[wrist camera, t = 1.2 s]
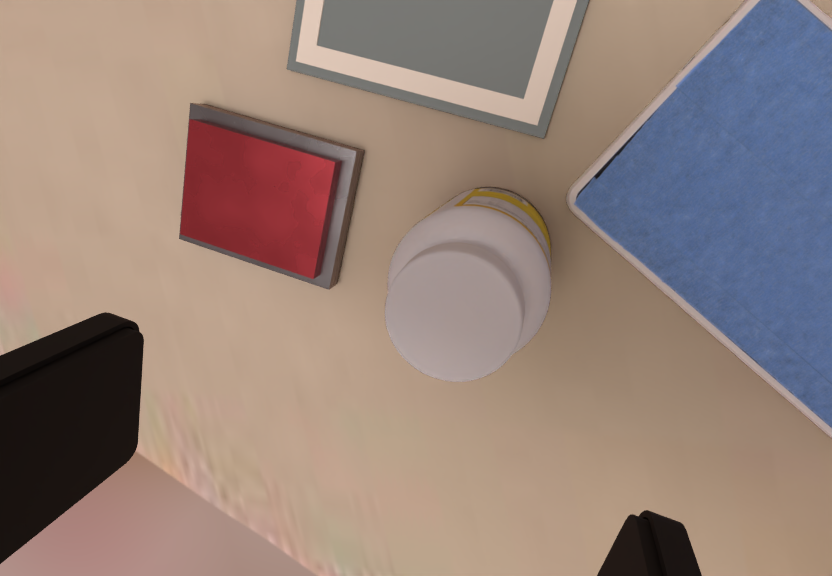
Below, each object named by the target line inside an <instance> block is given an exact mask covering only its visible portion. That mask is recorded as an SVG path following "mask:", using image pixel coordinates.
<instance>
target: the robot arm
mask: <svg viewBox="0 0 832 576" xmlns="http://www.w3.org/2000/svg"><path fill="white" fill-rule="evenodd" d="M143 344H144V339H143V335H142V334H141V333H140V332H139V327H138V325H137V324H136V323H135V322H133V321H130V320H128V319H125V318H122V317H119V316H117V315H114V314H111V313H106V312H105V313H101V314H98V315H96V316H94V317H91V318H89V319H86V320H84V321H82V322H79V323H77V324H74V325H72V326H70V327H67V328H65V329H63V330H60V331H58V332H55V333H53V334H51V335H48V336H46V337H44V338H41V339H39V340H36V341H34V342H32V343H29V344H27V345H25V346H22V347H20V348H17V349H15V350H13V351H10V352H8V353H6V354H3V355H1V356H0V564H1V563H2V562H3V561H4V560H6V559H7V558H8V557H9V556H11V555H12V554H13V553H14V552H16V551H17V550H18V549H19V548H21V547H22V546H23V545H24V544H26V543H27V542H28V541H29V540H30V539H32V538H33V537H34V536H36V535H37V534H38V533H39V532H41V531H42V530H43V529H44V528H46V527H47V526H48V525H49V524H51V523H52V522H53V521H54V520H56V519H57V518H58V517H59V516H60V515H62V514H63V513H64V512H65V511H67V510H68V509H69V508H71V507H72V506H73V505H74V504H75V503H77V502H78V501H79V500H81V499H82V498H83V497H84V496H86V495H87V494H88V493H89V492H90V491H92V490H93V489H94V488H96V487H97V486H98V485H99V484H101V483H102V482H103V481H104V480H106V479H107V478H108V477H109V476H111V475H112V474H113V473H114V472H115V471H117V470H118V469H119V468H121V467H122V466H123V465H124V464H126V463H127V461H129V460H130V458H131V457H132V456H133V454H134V452H135V450H136V448H137V444H138V430H139V413H140V396H141V379H142V361H143ZM597 576H702V575H701V572H700V569H699V566H698V563H697V560H696V557H695V554H694V552H693V549H692V546H691V543H690V540H689V537H688V534H687V531H686V529H685V527H684V525H683V524H682V523H680V522H678V521H675V520H672V519H670V518H667V517H664V516H661V515H659V514H656V513H653V512H650V511H648V510H646V511H643V512H642V513H641V514H640V515H639V517H638V516H635V515H629V516H628V518H627V519H626V521H625V523H624V525H623V526H622V528H621V530H620V532H619V534H618V536H617V538H616V540H615V542H614V544H613V546H612V548H611V550H610V552H609V554H608V555H607V557H606V559H605V561H604V563H603V565H602V567H601V569H600V571H599V573H598V575H597Z"/></svg>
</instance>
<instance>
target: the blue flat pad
mask: <svg viewBox="0 0 832 576" xmlns="http://www.w3.org/2000/svg"><path fill="white" fill-rule="evenodd" d="M566 202H567V205H568V207H569V209H570V210H571V212H572V213H573V214H574V215H575V216H576V217H578V218H579V219H580V220H581V221H582V222H583V223H584V224H586V225H587V226H588V227H589V228H590V229H591V230H592V231H593V232H595V233H596V234H597V235H598V236H599V237H600V238H601V239H603V240H604V241H605V242H606V243H607V244H608V245H610V246H611V247H612V248H613V249H614V250H615V251H616V252H618V253H619V254H620V255H621V256H622V257H623V258H625V259H626V260H627V261H628V262H629V263H630V264H632V265H633V266H634V267H635V268H636V269H637V270H638V271H640V272H641V273H642V274H643V275H644V276H645V277H646V278H648V279H649V280H650V281H651V282H652V283H653V284H654V285H655V286H657V287H658V288H659V289H660V290H661V291H662V292H664V293H665V294H666V295H667V296H668V297H669V298H670V299H672V300H673V301H674V302H675V303H676V304H677V305H679V306H680V307H681V308H682V309H683V310H684V311H685V312H686V313H688V314H689V315H690V316H691V317H692V318H693V319H695V320H696V321H697V322H698V323H699V324H700V325H701V326H703V327H704V328H705V329H706V330H707V331H708V332H709V333H711V334H712V335H713V336H714V337H715V338H716V339H717V340H718V341H720V342H721V343H722V344H723V345H724V346H725V347H727V348H728V349H729V350H730V351H731V352H732V353H734V354H735V355H736V356H737V357H738V358H739V359H740V360H741V361H743V362H744V363H745V364H746V365H747V366H748V367H750V368H751V369H752V370H753V371H754V372H755V373H757V374H758V375H759V376H760V377H761V378H762V379H763V380H765V381H766V382H767V383H768V384H769V385H770V386H772V387H773V388H774V389H775V390H776V391H777V392H779V393H780V394H781V395H782V396H783V397H784V398H786V399H787V400H788V401H789V402H790V403H791V404H792V405H794V406H795V407H796V408H797V409H798V410H799V411H801V412H802V413H803V414H804V415H805V416H806V417H807V418H809V419H810V420H811V421H812V422H813V423H814V424H815V425H817V426H818V427H819V428H820V429H821V430H822V431H824V432H825V433H826V434H827V435H828V436H829V437H831V438H832V18H831V17H830V16H828V15H827V14H826V13H824V12H823V11H821V10H820V9H819V8H818V7H817V6H816V5H815V4H814V3H813V2H811V1H810V0H745V1H744V2H743V3H742V4H741V5H740V6H739V7H738V8H737V10H736V11H735V12H734V13H733V14H732V15H731V16H730V18H729V20H728V21H727V22H726V23H725V24H724V25H723V26H722V27H720V28H719V29H718V30H717V31H716V32H715V33H714V34H713V35H712V36H711V37H710V38H709V40H708V41H707V42H706V43H705V44H704V45H703V46H702V47H701V48H700V49H699V50H698V51H697V52H696V53H695V54H694V55H693V57H692V58H691V59H690V60H689V61H688V62H687V63H686V64H685V66H684V67H683V68H682V69H681V70H680V71H679V72H678V73H677V74H676V75H675V76H674V77H673V78H672V79H671V80H670V81H669V82H668V83H667V85H666V86H665V87H664V88H663V89H662V90H661V91H660V92H659V93H658V94H657V95H656V96H655V97H654V98H653V99H652V101H651V102H650V103H649V104H648V105H647V106H646V107H645V108H644V109H643V110H642V111H641V112H640V113H639V114H638V115H637V117H636V118H635V119H634V120H633V121H632V122H631V123H630V124H629V125H628V126H627V127H626V128H625V129H624V130H623V131H622V133H621V134H620V135H619V136H618V137H617V138H616V139H615V140H614V141H613V142H612V143H611V144H610V145H609V146H608V147H607V148H606V150H605V151H604V152H603V153H602V154H601V155H600V156H599V157H598V158H597V159H596V160H595V161H594V162H593V163H592V164H591V165H590V166H589V167H588V168H587V169H586V171H585V172H584V173H583V174H582V175H581V176H580V177H579V178H578V179H577V180H576V181H575V182H574V183H573V184H572V185H571V187H570V188H569V190H568V193H567V195H566Z"/></svg>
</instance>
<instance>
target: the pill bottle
mask: <svg viewBox="0 0 832 576" xmlns="http://www.w3.org/2000/svg"><path fill="white" fill-rule="evenodd" d="M550 298H551V247H550V238H549V233H548V230H547V227H546V224H545V222H544V220H543V218H542V217H541V215H540V214H539V212H538V211H537V210H536V208H535V207H534V206H533V205H532V204H531V203H530V202H528V201H527V200H526V199H524V198H523V197H521V196H520V195H518V194H516V193H514V192H511V191H509V190H505V189H501V188H496V187H481V188H475V189H471V190H468V191H466V192H463V193H461V194H459V195H457V196H455V197H454V198H452V199H451V200H449V201H448V202H447V203H445V204H444V205H442V206H441V207H439V208H438V209H436V210H435V211H433V212H432V213H431V214H429V215H428V216H426V217H425V218H424V219H422V220H421V221H420V222H418V223H417V224H415V225H414V226H413V227H412V228H411V229H410V230H409V231H408V232H407V234H406V235H405V236H404V237H403V239H402V240H401V241H400V243H399V244H398V246H397V248H396V250H395V252H394V254H393V257H392V260H391V263H390V267H389V272H388V294H387V298H386V304H385V321H386V326H387V330H388V333H389V336H390V338H391V340H392V343H393V344H394V346H395V348H396V349H397V351H398V352H399V353H400V354H401V356H402V357H403V358H404V359H405V360H406V361H407V362H408V363H409V364H410V365H412V366H413V367H414V368H416V369H417V370H419V371H420V372H422V373H424V374H426V375H428V376H431V377H433V378H436V379H440V380H445V381H450V382H466V381H472V380H476V379H480V378H482V377H485V376H487V375H489V374H491V373H493V372H495V371H496V370H497V369H499V368H500V367H501V366H502V365H503V364H505V363H506V361H507V360H508V359H509V358H510V357H511V355H512V354H514V353H516V352H517V351H519V350H520V349H521V348H523V347H524V346H525V345H526V344H527V343H528V342H529V341H530V340H531V339H532V338H533V337H534V336H535V334H536V333H537V332H538V330H539V329H540V327H541V325H542V323H543V321H544V319H545V317H546V314H547V311H548V308H549V304H550Z"/></svg>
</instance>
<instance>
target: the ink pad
mask: <svg viewBox="0 0 832 576" xmlns="http://www.w3.org/2000/svg"><path fill="white" fill-rule="evenodd" d="M363 155H364V150H361V149H358V148H354V147H351V146H347V145H344V144H340V143H337V142H334V141H330V140H327V139H323V138H320V137H316V136H313V135H309V134H306V133H302V132H299V131H296V130H292V129H289V128H285V127H282V126H278V125H275V124H271V123H268V122H264V121H261V120H258V119H254V118H251V117H247V116H244V115H240V114H237V113H233V112H230V111H226V110H223V109H220V108H216V107H213V106H209V105H206V104H196V103H190V114H189V126H188V138H187V150H186V162H185V175H184V187H183V199H182V211H181V223H180V235H179V239H181V240H184V241H187V242H190V243H193V244H196V245H199V246H202V247H205V248H208V249H211V250H214V251H217V252H220V253H222V254H225V255H228V256H231V257H234V258H237V259H240V260H243V261H246V262H249V263H252V264H255V265H258V266H261V267H264V268H267V269H270V270H273V271H276V272H278V273H281V274H284V275H287V276H290V277H293V278H296V279H299V280H302V281H305V282H308V283H311V284H314V285H317V286H320V287H323V288H326V289H331V288H332V287H333V286H335V285H336V284H337V282H338V277H339V272H340V268H341V263H342V258H343V253H344V248H345V243H346V238H347V233H348V228H349V224H350V219H351V214H352V209H353V204H354V199H355V194H356V189H357V185H358V180H359V175H360V170H361V165H362V160H363Z"/></svg>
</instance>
